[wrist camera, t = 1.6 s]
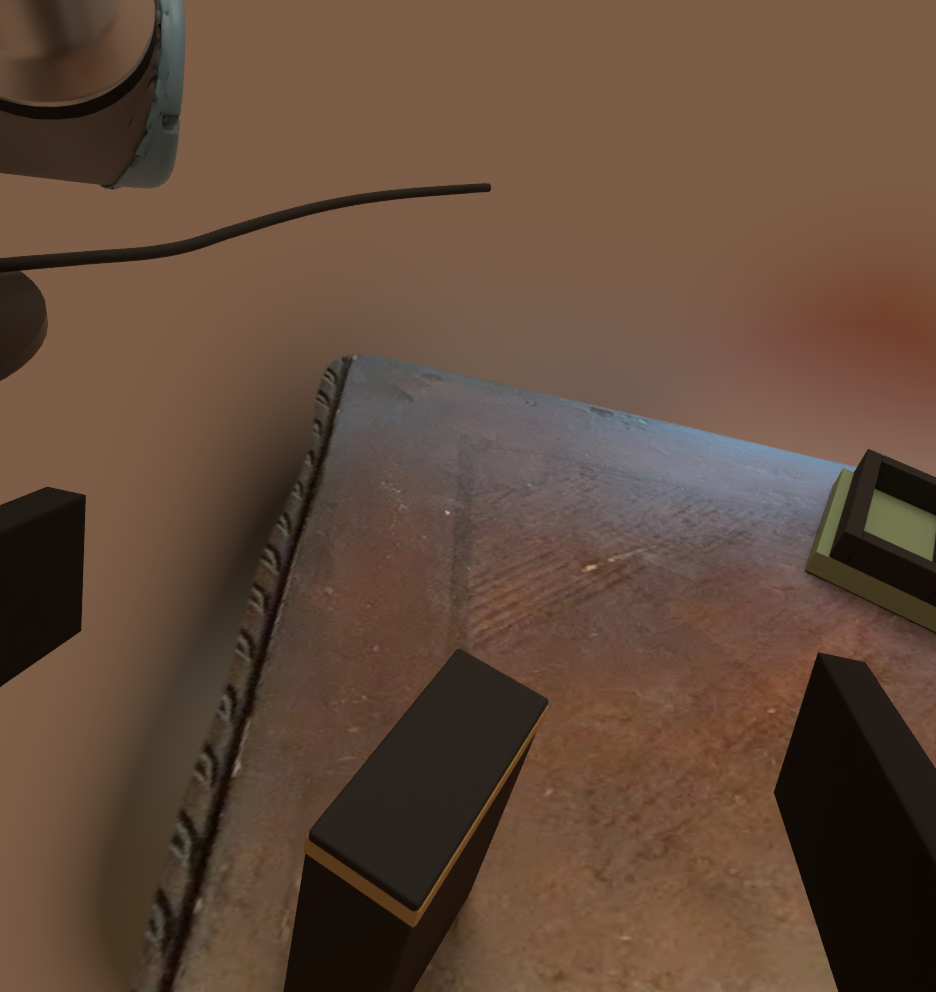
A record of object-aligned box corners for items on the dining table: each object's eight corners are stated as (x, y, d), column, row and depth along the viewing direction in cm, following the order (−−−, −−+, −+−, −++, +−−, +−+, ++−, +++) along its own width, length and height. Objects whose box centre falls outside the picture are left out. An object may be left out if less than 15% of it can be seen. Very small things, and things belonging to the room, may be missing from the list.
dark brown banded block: (359, 1085, 25) (420, 909, 18) (276, 1021, 25) (305, 830, 19) (472, 891, 30) (551, 699, 23) (399, 844, 31) (456, 645, 24)
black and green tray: (943, 636, 47) (979, 592, 44) (804, 570, 49) (832, 525, 47) (952, 538, 55) (982, 496, 53) (833, 485, 57) (857, 443, 55)
